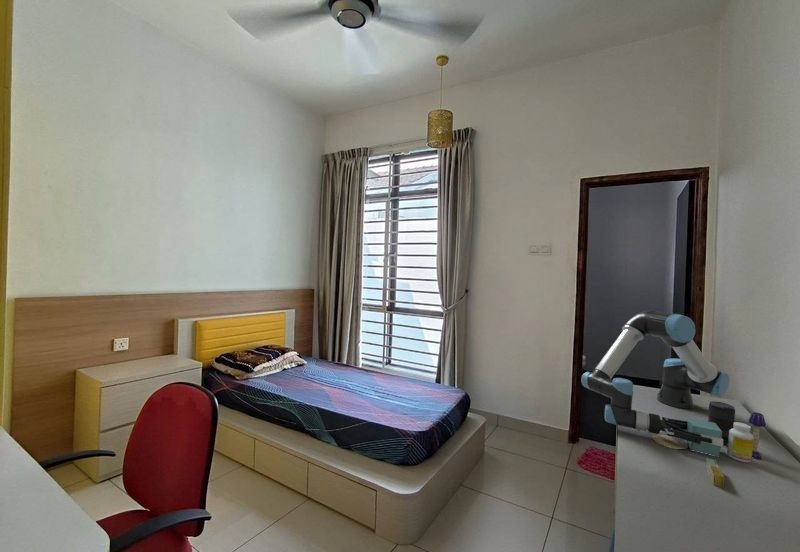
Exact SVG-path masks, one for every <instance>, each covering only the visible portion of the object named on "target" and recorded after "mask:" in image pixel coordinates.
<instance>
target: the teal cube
mask: <svg viewBox="0 0 800 552" xmlns="http://www.w3.org/2000/svg"><path fill="white" fill-rule="evenodd" d="M687 421H688V423H687V431H690V432H692V433H695V434H698V435H701V434H703V435H707V436H712V437H717V438H721V437H722V431H721V430H720V428H719V427H718V426H717V425H716V423H713V422H708V420H703V419H698V418H693V417H687ZM695 439H696V438H695ZM685 443H686V444H688V445H687V446H689V447H688V448H689V450H690V449H691V450H694V451H699V452H703V453H707V454H711V455H714V456H713V457H715V456H719V457H721V456H720V455H721V447H722V446H717V445H713V444H708V443H704V442H701V443H700V444H697V443H694V442H690V441H687V440H685ZM691 450H690V451H691ZM719 457H718V458H719Z"/></svg>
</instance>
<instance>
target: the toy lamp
mask: <svg viewBox="0 0 800 552" xmlns="http://www.w3.org/2000/svg"><path fill="white" fill-rule="evenodd" d="M747 422H748V423H749V424H750V425H752V426H753V432H752V435H753V437H754V439H753V449H752V457H753V459H755V458H757V459H756V460H762V459H763V457H762V455H761V453H760V452H759V449H758V448H759V443H760V441H759V440H760V432H761V430H760V429H761V428H764V427H766V426H767V425H766V421H765V417H764V415H763V414H762V413H760V412H756V411H755V412H753V411H752V413H751V414H750V416H749V418H748V421H747Z"/></svg>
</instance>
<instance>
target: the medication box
mask: <svg viewBox="0 0 800 552" xmlns="http://www.w3.org/2000/svg"><path fill="white" fill-rule="evenodd" d="M705 462H706V463H705V468H707V469H706V471H707V473H709V474H708V475H709V476H708V477H710V481H711V482H712V484H713V486H716V487H718V488H722V489H724V488H725V487H724V486H725V475H724V473H723V471H722V470H721V469H720V467H719V464H718V462H717V460H716V459H713V458H710V457H706V459H705Z"/></svg>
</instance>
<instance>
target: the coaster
mask: <svg viewBox="0 0 800 552" xmlns="http://www.w3.org/2000/svg"><path fill="white" fill-rule="evenodd" d="M652 439H653V441H654V440H655V441H656V442H655V441H654V442H655V443H657V442H658V443H660V444H662V445H665V446H667V447H666V448H668V447H671V448H675V449H674V450H676V449H686V450H687V449H688V448H689V447H688V445H687V443H686V441H683V440H682V439H680V438H676V437H672V436H668V435H667V434H653V437H652ZM658 443H657V444H658ZM660 444H659V445H660ZM662 445H661V446H662ZM665 446H664V447H665ZM671 448H670V449H671Z"/></svg>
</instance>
